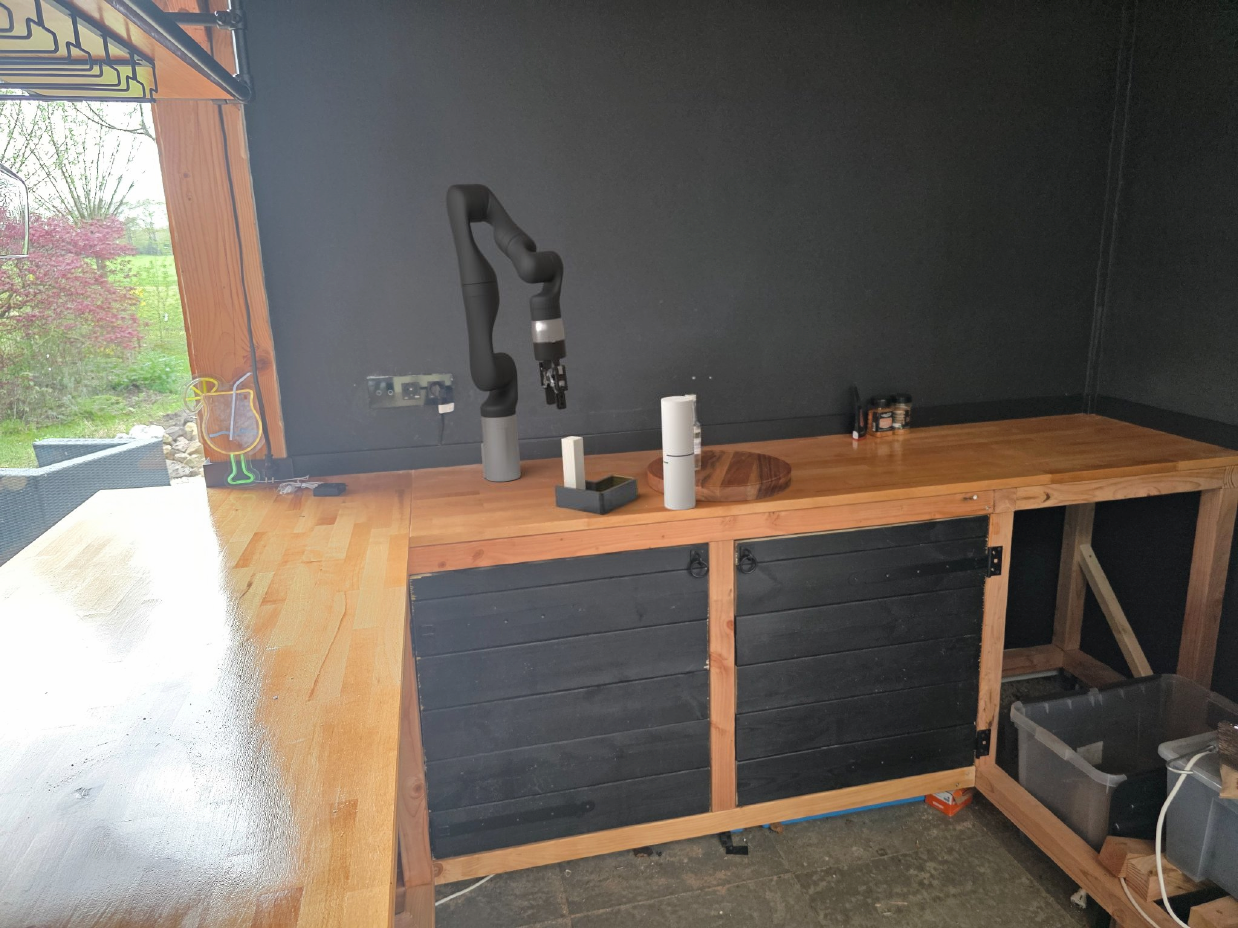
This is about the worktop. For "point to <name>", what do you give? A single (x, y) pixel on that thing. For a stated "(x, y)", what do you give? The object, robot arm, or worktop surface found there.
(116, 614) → the worktop surface
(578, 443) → the peg
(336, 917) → the worktop surface
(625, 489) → the dark open tray
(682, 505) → the cylindrical container
